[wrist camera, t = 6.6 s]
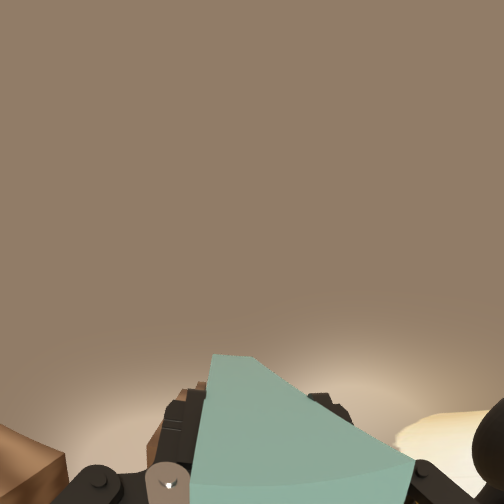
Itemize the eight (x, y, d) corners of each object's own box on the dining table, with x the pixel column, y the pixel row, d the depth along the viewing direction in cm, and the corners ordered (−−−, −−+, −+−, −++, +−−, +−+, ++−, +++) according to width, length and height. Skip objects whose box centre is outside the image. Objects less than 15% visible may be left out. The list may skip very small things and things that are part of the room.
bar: (210, 391, 27) (212, 354, 28) (249, 393, 27) (252, 356, 29) (195, 600, 2) (189, 483, 3) (370, 580, 3) (415, 460, 4)
